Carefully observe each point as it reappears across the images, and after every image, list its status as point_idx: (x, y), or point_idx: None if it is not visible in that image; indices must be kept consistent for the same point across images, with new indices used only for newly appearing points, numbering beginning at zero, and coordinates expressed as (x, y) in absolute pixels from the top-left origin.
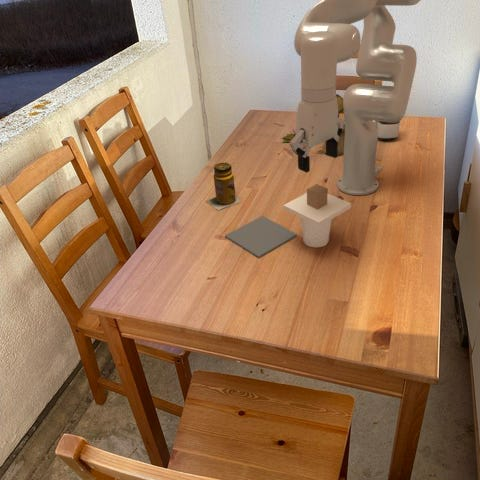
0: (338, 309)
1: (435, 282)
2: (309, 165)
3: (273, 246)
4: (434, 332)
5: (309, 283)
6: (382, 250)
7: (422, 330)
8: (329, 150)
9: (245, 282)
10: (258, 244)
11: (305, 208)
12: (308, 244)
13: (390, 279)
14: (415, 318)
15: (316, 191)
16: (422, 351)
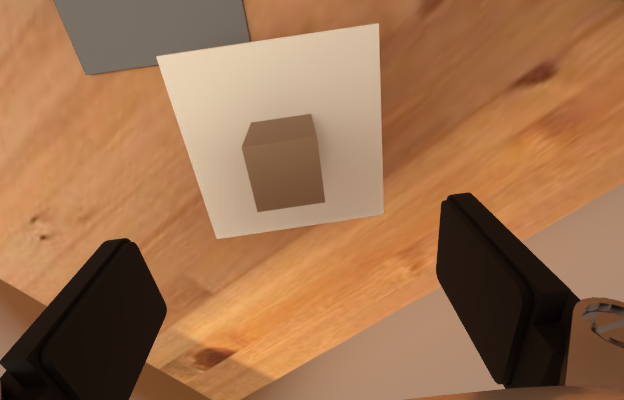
0: (186, 299)
1: (368, 325)
2: (149, 349)
3: (151, 58)
4: (279, 376)
5: (174, 226)
6: (379, 228)
7: (269, 369)
8: (460, 264)
9: (21, 143)
10: (106, 14)
11: (228, 143)
12: None
13: (317, 291)
14: (278, 355)
15: (265, 193)
16: (241, 387)
